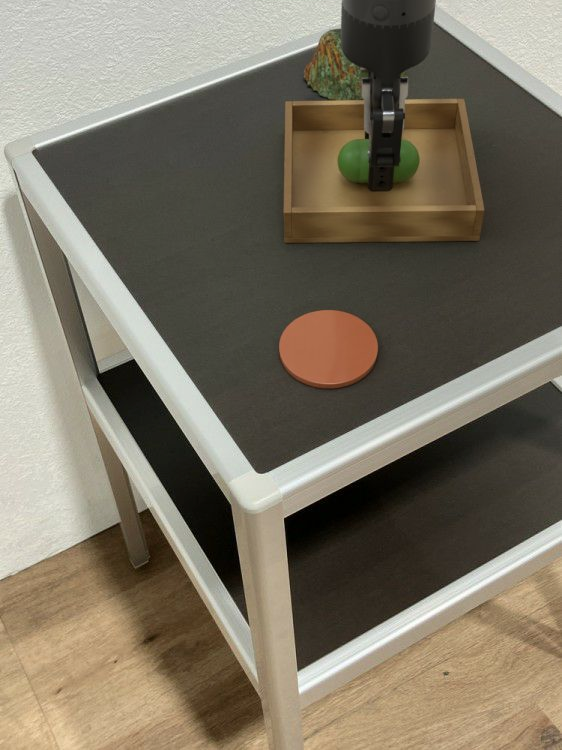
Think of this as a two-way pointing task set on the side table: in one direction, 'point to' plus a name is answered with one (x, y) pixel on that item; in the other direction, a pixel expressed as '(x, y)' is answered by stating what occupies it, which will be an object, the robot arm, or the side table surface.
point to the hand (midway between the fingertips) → (378, 164)
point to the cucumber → (357, 165)
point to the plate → (328, 349)
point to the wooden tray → (354, 200)
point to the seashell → (333, 70)
